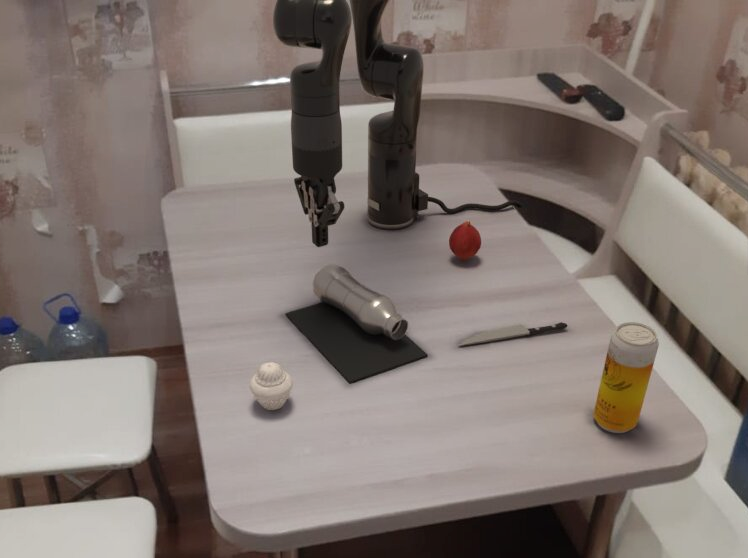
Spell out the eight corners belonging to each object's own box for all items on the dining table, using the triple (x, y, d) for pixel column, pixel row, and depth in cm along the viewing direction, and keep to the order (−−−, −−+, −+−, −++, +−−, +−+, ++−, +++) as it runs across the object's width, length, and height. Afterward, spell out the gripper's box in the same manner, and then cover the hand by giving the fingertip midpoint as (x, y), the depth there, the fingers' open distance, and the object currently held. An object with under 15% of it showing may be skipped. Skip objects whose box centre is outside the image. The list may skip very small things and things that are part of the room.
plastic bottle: (344, 276, 144) (420, 326, 131) (317, 303, 143) (391, 356, 130) (329, 252, 139) (407, 301, 126) (301, 280, 138) (377, 332, 125)
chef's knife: (451, 338, 133) (457, 347, 131) (451, 332, 132) (457, 341, 130) (560, 321, 137) (568, 329, 134) (560, 315, 136) (569, 323, 134)
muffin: (275, 385, 123) (272, 346, 119) (302, 403, 120) (300, 364, 115) (242, 403, 120) (238, 364, 115) (269, 422, 116) (266, 383, 112)
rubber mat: (357, 293, 144) (357, 291, 144) (427, 356, 129) (427, 354, 129) (285, 315, 138) (285, 313, 138) (349, 383, 123) (349, 381, 123)
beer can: (587, 409, 119) (606, 321, 109) (628, 407, 119) (651, 319, 110) (600, 436, 114) (621, 347, 105) (642, 434, 114) (667, 345, 105)
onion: (443, 264, 152) (446, 224, 147) (453, 250, 156) (456, 210, 151) (474, 269, 150) (478, 229, 145) (483, 255, 154) (487, 216, 149)
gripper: (360, 149, 120) (360, 256, 130) (318, 121, 129) (321, 223, 139) (314, 159, 117) (318, 267, 127) (274, 129, 126) (281, 233, 136)
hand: (320, 244), depth 133 cm, fingers closed
